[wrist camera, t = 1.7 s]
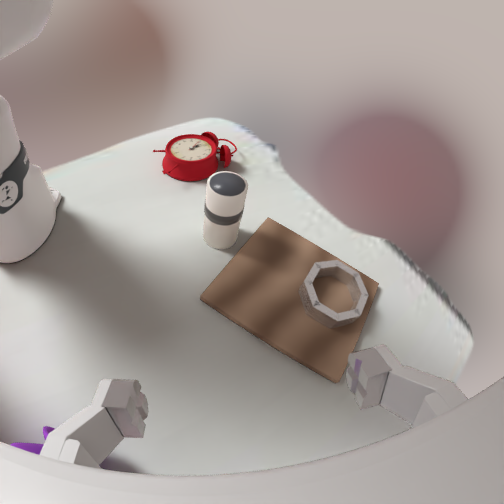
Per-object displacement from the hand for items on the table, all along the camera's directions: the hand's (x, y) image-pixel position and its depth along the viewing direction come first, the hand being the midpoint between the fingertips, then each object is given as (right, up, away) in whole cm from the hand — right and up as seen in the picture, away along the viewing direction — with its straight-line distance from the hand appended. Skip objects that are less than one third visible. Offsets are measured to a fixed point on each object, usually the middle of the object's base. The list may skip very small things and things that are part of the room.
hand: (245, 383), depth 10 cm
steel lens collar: (+11, -1, +28) cm, 30 cm away
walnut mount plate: (+7, -1, +29) cm, 29 cm away
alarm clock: (-10, +22, +42) cm, 49 cm away
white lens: (-4, +7, +32) cm, 33 cm away
